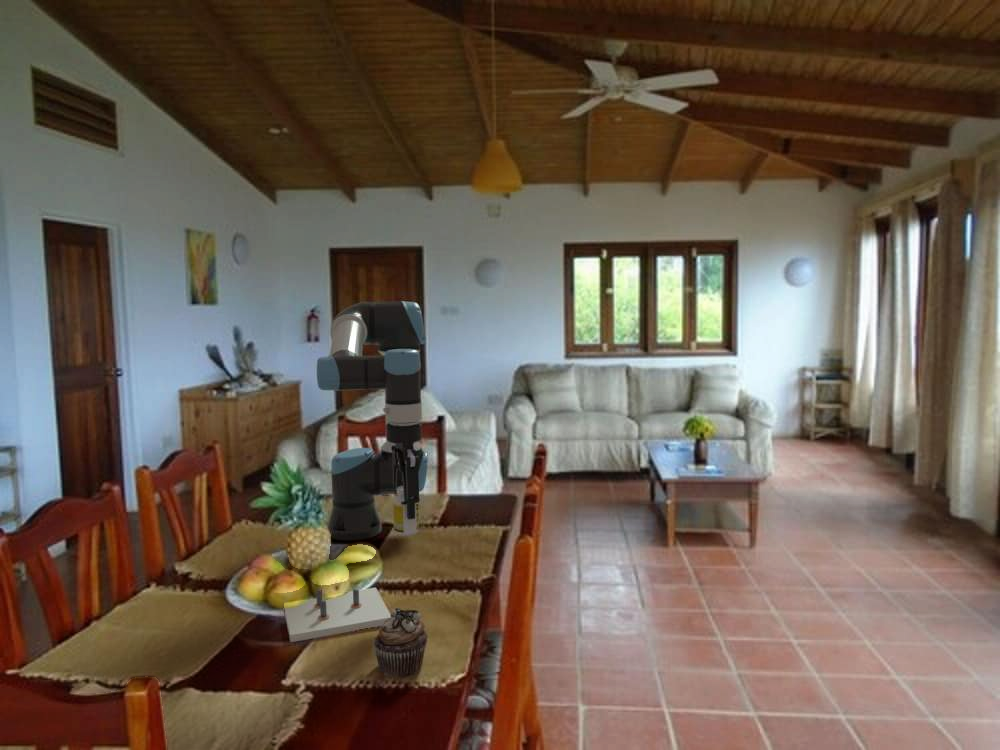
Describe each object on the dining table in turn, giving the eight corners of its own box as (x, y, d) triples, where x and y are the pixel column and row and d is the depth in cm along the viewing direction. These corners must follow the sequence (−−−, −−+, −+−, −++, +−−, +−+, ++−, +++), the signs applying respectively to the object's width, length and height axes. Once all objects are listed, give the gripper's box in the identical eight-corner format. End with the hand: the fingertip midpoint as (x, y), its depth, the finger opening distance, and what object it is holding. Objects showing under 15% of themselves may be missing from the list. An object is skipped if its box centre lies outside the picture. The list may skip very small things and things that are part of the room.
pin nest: (283, 608, 154) (282, 586, 153) (376, 593, 161) (375, 572, 161) (290, 642, 139) (289, 617, 139) (392, 624, 146) (391, 600, 146)
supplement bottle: (415, 536, 152) (414, 491, 151) (390, 535, 153) (389, 490, 152) (422, 528, 157) (421, 484, 156) (398, 527, 158) (397, 483, 157)
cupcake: (379, 652, 135) (378, 601, 134) (430, 653, 135) (429, 602, 133) (368, 680, 125) (367, 625, 124) (423, 680, 125) (422, 626, 124)
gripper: (376, 416, 159) (379, 518, 162) (397, 431, 142) (400, 544, 145) (409, 414, 162) (412, 513, 165) (433, 428, 145) (435, 539, 148)
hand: (406, 528), depth 155 cm, fingers closed on supplement bottle, 5 cm apart
